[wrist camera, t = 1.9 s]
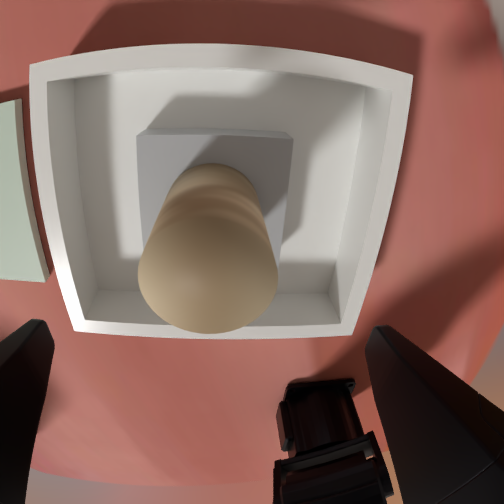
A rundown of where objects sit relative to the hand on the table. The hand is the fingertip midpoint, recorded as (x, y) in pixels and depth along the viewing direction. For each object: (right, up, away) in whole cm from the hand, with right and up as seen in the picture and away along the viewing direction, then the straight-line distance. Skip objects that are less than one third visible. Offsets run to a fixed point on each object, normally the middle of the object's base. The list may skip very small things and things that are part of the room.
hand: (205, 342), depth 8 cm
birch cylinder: (-1, +4, +7) cm, 8 cm away
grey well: (-1, +6, +9) cm, 11 cm away
